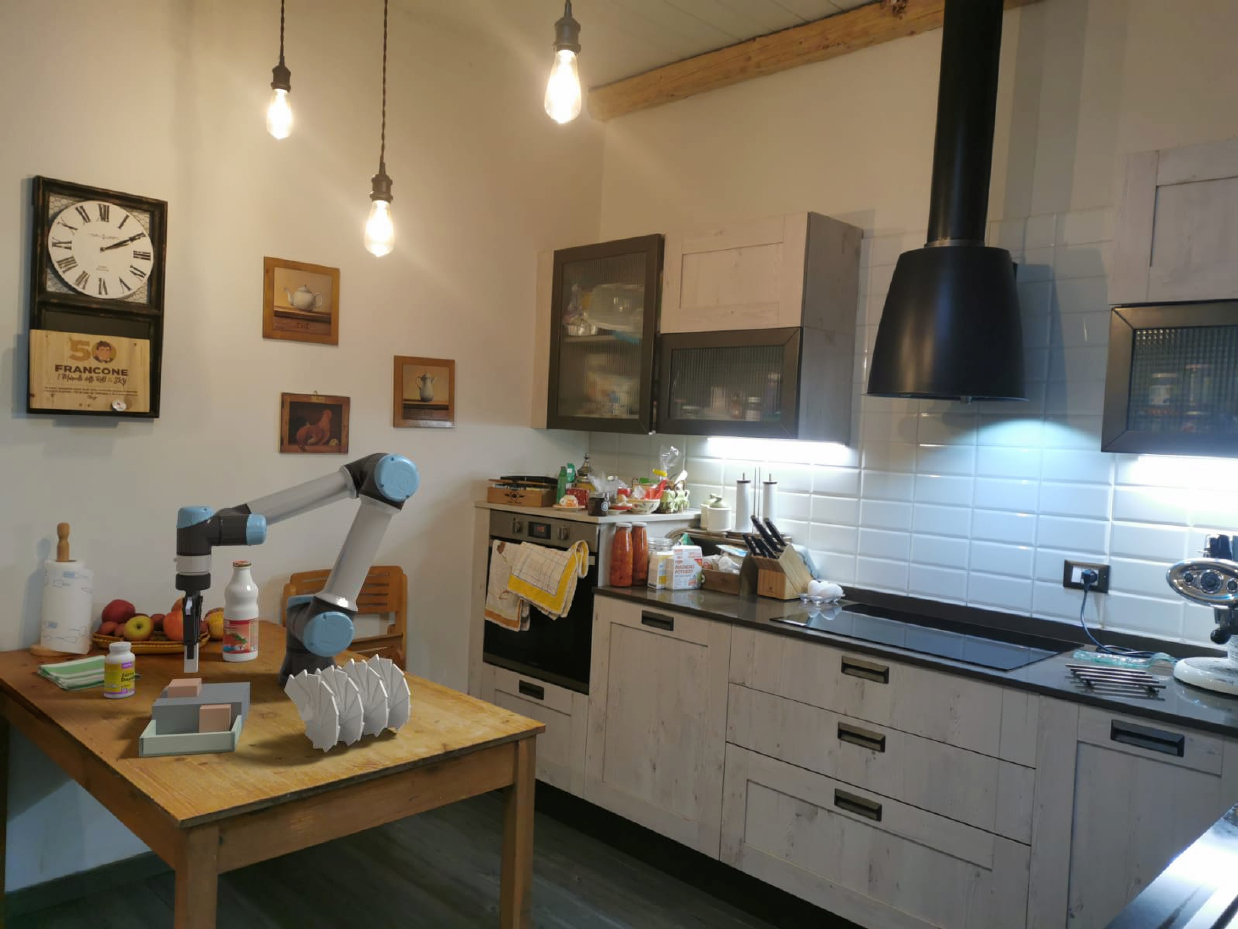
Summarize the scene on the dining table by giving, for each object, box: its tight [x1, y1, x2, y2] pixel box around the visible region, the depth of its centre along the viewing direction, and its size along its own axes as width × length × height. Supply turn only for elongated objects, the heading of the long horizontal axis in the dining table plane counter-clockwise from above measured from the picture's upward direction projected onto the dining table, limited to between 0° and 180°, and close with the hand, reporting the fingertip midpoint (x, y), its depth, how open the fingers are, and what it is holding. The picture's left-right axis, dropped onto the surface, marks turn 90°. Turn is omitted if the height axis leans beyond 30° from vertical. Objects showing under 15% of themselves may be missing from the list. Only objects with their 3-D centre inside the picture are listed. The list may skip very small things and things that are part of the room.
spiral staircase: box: [283, 653, 413, 753], centre depth 198 cm, size 18×18×25 cm
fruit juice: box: [222, 560, 260, 663], centre depth 260 cm, size 9×9×28 cm
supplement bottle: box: [103, 641, 136, 699], centre depth 223 cm, size 7×7×13 cm
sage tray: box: [138, 715, 242, 758], centre depth 192 cm, size 18×12×4 cm, turn 106°
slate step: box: [151, 681, 251, 735], centre depth 205 cm, size 18×16×7 cm
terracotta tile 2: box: [167, 677, 203, 698], centre depth 204 cm, size 6×6×2 cm
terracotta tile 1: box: [199, 704, 231, 733], centre depth 197 cm, size 6×6×2 cm
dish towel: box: [36, 654, 142, 692], centre depth 239 cm, size 18×23×3 cm
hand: (190, 671), depth 213 cm, fingers closed
